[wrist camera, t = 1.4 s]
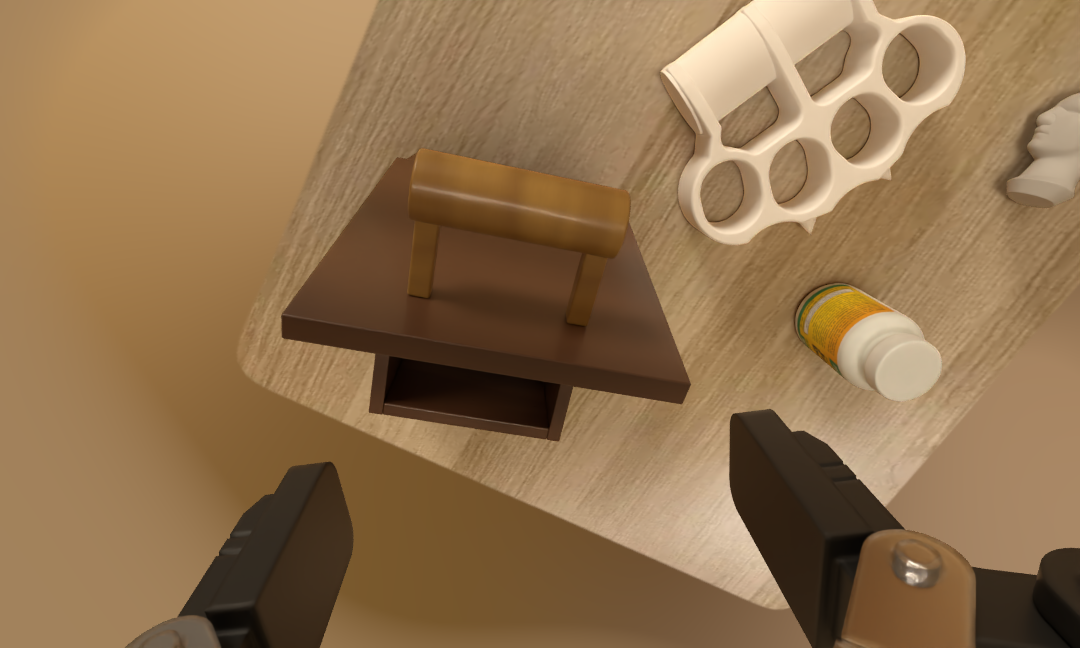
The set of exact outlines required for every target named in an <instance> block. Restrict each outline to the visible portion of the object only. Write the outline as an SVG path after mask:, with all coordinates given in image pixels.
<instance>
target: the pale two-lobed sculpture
mask: <svg viewBox="0 0 1080 648" xmlns="http://www.w3.org/2000/svg"><path fill="white" fill-rule="evenodd" d="M1036 124H1037V126H1038V127H1037V128H1036V129H1035V131H1034V136H1033V138H1032V140H1031V141H1030V142H1029V144H1028V145H1027V149H1028V151H1029V153H1030V154H1031V155H1032V157H1033V158H1034V161H1033V162H1032V164H1031V165H1030V166H1029V167H1028V168H1027V169H1026V170H1025V171H1024V172H1023V173H1022V174H1021V175H1020V176H1018V177H1015V178H1013V179H1010V180H1008V181H1007V196H1008V197H1009V198H1010V199H1011V200H1013V201H1015V202H1017V203H1019V204H1022V205H1026V206H1031V207H1038V208H1051V207H1053V206H1056V205H1058V204H1060V203H1063V202H1065V201H1068V200H1070V199H1072V198H1073V197H1074V192H1075V187H1076V185H1077V183H1078V181H1079V180H1080V93H1077V94H1074V95H1072V96H1069V97H1067V98H1065V99H1064V100H1062V101H1060V102H1059V103H1058V104H1057V105H1056V106H1055V107H1054V108H1052V109H1050V110H1048V111H1046V112H1044V113H1042V114H1041V115H1040V116H1039V117H1038V118H1037V120H1036Z"/></svg>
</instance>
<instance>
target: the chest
mask: <svg viewBox="0 0 1080 648" xmlns="http://www.w3.org/2000/svg"><path fill="white" fill-rule="evenodd" d="M417 153H418V152H417ZM417 153H416V154H414V155H412V156H411V157H409V158H407V159H408V160H413V161H415V158H416V155H417ZM572 389H573V386H568V385H562V384H556V383H550V382H544V381H538V380H532V379H526V378H520V377H514V376H508V375H502V374H496V373H490V372H484V371H478V370H472V369H466V368H460V367H454V366H447V365H441V364H435V363H429V362H423V361H417V360H411V359H405V358H399V357H393V356H387V355H381V354H375V363H374V371H373V380H372V389H371V397H370V406H369V413H376V414H382V413H383V414H384V415H391V416H397V417H404V418H410V419H417V420H423V421H430V422H436V423H443V424H449V425H456V426H462V427H469V428H475V429H482V430H488V431H495V432H501V433H508V434H514V435H521V436H527V437H534V438H540V439H546V438H547V440H553V441H559V440H560V436H561V432H562V428H563V424H564V420H565V416H566V412H567V408H568V404H569V400H570V396H571V393H572Z"/></svg>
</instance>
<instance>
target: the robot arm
mask: <svg viewBox="0 0 1080 648" xmlns="http://www.w3.org/2000/svg"><path fill="white" fill-rule="evenodd" d="M729 480H730V488H731V493H732V498H733V501H734V504H735V507H736V509H737V511H738V513H739V515H740V516H741V518H742V520H743V522H744V524H745V526H746V527H747V529H748V531H749V533H750V535H751V537H752V538H753V540H754V542H755V544H756V546H757V547H758V549H759V551H760V553H761V555H762V557H763V558H764V560H765V562H766V564H767V566H768V568H769V569H770V571H771V573H772V575H773V577H774V578H775V580H776V582H777V584H778V586H779V588H780V589H781V591H782V593H783V595H784V597H785V599H786V600H787V602H788V604H789V606H790V608H791V609H792V611H793V613H794V614H795V617H796V619H797V620H798V622H799V624H800V626H801V628H802V629H803V631H804V633H805V635H806V637H807V638H808V640H809V642H810V644H811V646H812V648H1080V549H1079V548H1063V549H1057V550H1054V551H1051V552H1049V553H1047V554H1046V555H1045V556H1044V557H1043V558H1042V560H1041V563H1040V567H1039V570H1038V574H1037V575H1031V574H1023V573H1014V572H1005V571H997V570H989V569H981V568H976V567H971V565H970V564H969V562H968V561H967V560H966V559H965V558H964V557H963V556H962V555H961V554H960V553H959V552H958V551H956V550H955V549H954V548H952V547H951V546H949V545H948V544H946V543H944V542H942V541H940V540H938V539H936V538H934V537H931V536H929V535H926V534H923V533H919V532H915V531H910V530H905V529H904V528H903V527H902V526H901V524H900V523H899V522H898V521H897V520H896V519H895V518H894V517H893V516H892V515H891V514H890V513H889V511H888V510H887V509H886V508H885V507H884V506H883V505H882V504H881V503H880V501H879V500H878V499H877V498H876V497H875V496H874V495H873V494H872V493H871V492H870V490H869V489H868V488H867V487H866V486H865V485H864V484H863V483H862V482H861V481H860V480H859V479H858V480H857V479H856V475H855V474H854V473H853V472H852V471H851V470H850V469H849V467H848V466H847V465H844V464H843V461H842V460H841V459H840V458H839V456H838V455H837V454H836V453H835V452H834V451H833V450H832V449H831V448H830V447H829V446H828V444H826V443H824V442H823V441H821V440H819V439H817V438H815V437H814V436H812V435H810V434H808V433H807V432H805V431H796V432H791V431H790V429H789V428H788V427H787V426H786V425H785V423H784V422H783V421H782V420H781V419H780V417H779V416H778V415H777V414H776V413H775V412H774V411H773V410H771V409H767V410H759V411H751V412H743V413H735V414H733V415H732V416H731V420H730V467H729ZM352 550H353V527H352V523H351V519H350V515H349V512H348V508H347V505H346V501H345V498H344V494H343V491H342V487H341V484H340V480H339V477H338V473H337V470H336V468H335V466H334V465H333V463H331V462H323V463H315V464H307V465H299V466H292V467H291V468H290V469H289V470H288V472H287V473H286V475H285V476H284V478H283V480H282V482H281V483H280V485H279V487H278V488H277V490H276V491H275V493H274V494H270V495H265V496H264V497H262V498H261V499H260V500H259V501H258V502H257V503H255V504H254V505H253V506H252V507H251V508H250V509H248V510H247V511H246V512H245V513H244V514H243V515H242V517H241V518H240V520H239V522H238V523H237V525H236V526H235V528H234V529H233V531H232V532H231V534H230V539H227V540H226V542H225V543H224V545H223V547H222V548H221V550H220V551H219V556H216V557H215V559H214V561H213V562H212V564H211V565H210V567H209V568H208V570H207V572H206V573H205V575H204V576H203V578H202V579H201V581H200V582H199V584H198V586H197V587H196V589H195V590H194V592H193V593H192V595H191V597H190V598H189V600H188V601H187V603H186V604H185V606H184V608H183V609H182V611H181V612H180V614H179V616H178V617H177V618H173V619H170V620H168V621H165V622H162V623H160V624H158V625H156V626H155V627H152V628H151V629H149V630H147V631H146V632H144V633H143V634H141V635H140V636H138V637H137V638H135V640H133V641H132V642H131V643H130V644H128V645H127V646H126V647H125V648H320V645H321V642H322V639H323V636H324V633H325V631H326V627H327V625H328V622H329V619H330V616H331V613H332V610H333V607H334V604H335V602H336V599H337V596H338V593H339V590H340V587H341V584H342V581H343V578H344V576H345V573H346V570H347V567H348V564H349V561H350V558H351V555H352Z"/></svg>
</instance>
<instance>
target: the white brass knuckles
mask: <svg viewBox="0 0 1080 648" xmlns="http://www.w3.org/2000/svg"><path fill="white" fill-rule="evenodd" d="M841 30H843V31H846V32H847V33H848V34H849V35H850V38H851V44H850V48H849V50H848V52H847V54H846V57H845V61H844V68H843V71H842V73H841V75H840V76H839V77H838V78H837V79H835V80H834V81H832V82H831V83H830V84H828V85H827V86H826V87H824V88H823V89H821V90H820V91H819V92H817V93H816V94H814V95H813V96H812V97H810V95H809V93H808V91H807V89H806V87H805V85H804V83H803V81H802V79H801V77H800V75H799V74H798V72H797V70H796V68H795V66H794V65H795V64H797V63H798V62H799V61H801V60H802V59H803V58H805V57H806V56H807V55H809V54H810V53H811V52H813V51H814V50H815V49H817V48H818V47H820V46H821V45H822V44H824V43H825V42H826V41H828V40H829V39H830V38H832V37H833V36H834V35H836V34H837V33H839V32H840V31H841ZM899 33H900V34H902V35H903V36H904V37H905V38H906V39H907V40H908V41H909V42H910V43H911V44H912V45H913V46H914V47H915V48H916V50H917V52H918V55H919V61H920V66H919V72H918V76H917V78H916V81H915V83H914V84H913V86H912V87H911V89H910V90H909V91H908V92H907V93H906V94H905V95H904V96H902V97H901V98H899V97H898V96H897V95H896V94H894V93H893V92H892V91H891V90H890V89H889V88H888V86H887V85H886V83H885V81H884V79H883V75H882V62H883V57H884V54H885V52H886V49H887V47H888V46H889V44H890V43H891V41H892V40H893V39H894V38H895V37H896V36H897V35H898V34H899ZM965 62H966V59H965V50H964V45H963V42H962V40H961V38H960V36H959V34H958V33H957V31H956V30H955V29H954V28H953V27H952V26H951V25H950V24H949V23H948V22H946V21H944V20H942V19H940V18H938V17H934V16H929V15H916V16H910V17H905V18H900V19H895V20H892V19H890V18H887V17H885V16H883V15H880V14H879V13H878V11H877V9H876V7H875V5H874V2H873V0H753V1H752V2H750V3H749V4H748V5H746V6H744V7H742V8H741V9H740V10H738V11H737V12H736V14H735V15H734V16H732V17H731V18H730V19H728V20H727V21H726V22H724V23H723V24H722V25H721V26H719V27H718V28H717V29H715V30H714V31H713V32H712V33H710V34H709V35H708V36H706V37H705V38H704V39H702V40H701V41H700V42H699V43H697V44H696V45H695V46H693V47H692V48H691V49H689V50H688V51H687V52H686V53H684V54H683V55H682V56H680V57H679V58H678V59H677V60H675V61H674V62H673V63H670V64H668V65H667V66H666V67H665V68H663V69H662V71H661V72H660V76H661V79H662V81H663V83H664V86H665V88H666V90H667V92H668V94H669V95H670V97H671V99H672V101H673V102H674V104H675V106H676V107H677V109H678V110H679V112H680V113H681V115H682V116H683V118H684V119H685V120H686V122H687V123H688V124H689V126H690V127H691V128H692V129H693V131H694V132H695V134H696V139H695V152H694V155H693V157H692V158H691V159H690V160H689V162H688V163H687V165H686V166H685V168H684V170H683V172H682V174H681V177H680V181H679V186H678V200H679V205H680V208H681V210H682V213H683V215H684V216H685V218H686V219H687V221H688V222H689V223H690V224H691V225H692V226H693V227H695V228H696V229H697V230H699V231H700V232H702V233H703V234H704V235H706V236H707V237H709V238H710V239H712V240H714V241H716V242H719V243H722V244H726V245H742V244H747V243H749V241H750V240H751V239H752V238H753V237H754V236H755V235H756V234H758V233H759V232H760V231H762V230H763V229H765V228H767V227H769V226H771V225H773V224H777V223H781V222H798V223H799V224H800V225H801V226H802V227H803V228H804V229H805V230H806V231H807V232H808V233H809V234H810V235H811V233H812V230H813V227H814V224H815V221H816V217H818V216H821V215H824V214H826V213H829V212H831V211H832V210H833V208H834V207H835V205H836V204H837V203H838V201H839V200H840V199H841V198H842V197H843V196H844V195H845V194H846V193H848V192H849V191H850V190H852V189H853V188H855V187H857V186H859V185H861V184H863V183H866V182H869V181H875V180H879V179H880V178H883V179H887V180H891V181H892V179H891V172H890V167H891V166H892V165H893V164H894V163H895V162H896V161H897V160H898V159H899V158H900V157H901V156H902V154H903V152H904V149H905V146H906V143H907V141H908V139H909V138H910V136H911V134H912V133H913V131H914V130H915V129H916V127H917V126H918V125H919V124H920V123H921V122H922V121H923V120H924V119H925V118H926V117H928V116H929V115H930V114H932V113H933V112H935V111H937V110H939V109H941V108H944V107H947V106H949V105H950V103H951V102H952V100H953V99H954V97H955V96H956V94H957V92H958V90H959V88H960V85H961V83H962V80H963V76H964V72H965ZM765 86H767V87H768V89H769V91H770V93H771V94H772V96H773V98H774V100H775V102H776V104H777V105H778V108H779V115H778V118H777V120H776V122H775V123H774V124H773V125H772V126H770V127H769V128H767V129H766V130H765V131H763V132H762V133H760V134H759V135H758V136H756V137H755V138H754V139H752V140H751V141H749V142H748V143H747V144H745V145H744V146H742V147H741V148H738V149H737V148H733V147H729V146H723V144H722V142H721V132H722V127H721V126H720V124H719V122H718V121H719V120H721V119H722V118H723V117H725V116H726V115H727V114H729V113H730V112H731V111H733V110H734V109H736V108H737V107H738V106H740V105H741V104H742V103H744V102H745V101H746V100H748V99H749V98H750V97H752V96H753V95H754V94H756V93H757V92H759V91H760V90H761V89H763V88H764V87H765ZM851 98H854V99H856V100H857V101H858V102H859V103H860V104H861V105H862V106H863V107H864V108H865V109H866V110H867V112H868V114H869V116H870V120H871V131H870V135H869V138H868V140H867V142H866V144H865V146H864V147H863V148H862V150H861V151H860V152H859V153H857V154H856V155H855V156H853V157H852V158H850V159H847V160H846V159H845V158H844V157H843V156H841V155H840V154H839V153H838V152H837V151H836V149H835V148H834V146H833V144H832V141H831V125H832V121H833V119H834V116H835V114H836V113H837V111H838V110H839V108H840V107H841V106H842V105H843V104H844V103H845V102H846V101H848V100H849V99H851ZM794 140H797V141H798V142H799V143H800V144H801V145H802V147H803V149H804V151H805V155H806V161H807V166H808V175H807V180H806V182H805V185H804V187H803V188H802V190H801V191H800V192H799V193H798V194H797V195H796V196H795V197H794V198H793V199H791V200H789V201H787V202H785V203H780V204H777V203H776V201H775V199H774V197H773V194H772V190H771V185H770V180H769V170H770V166H771V163H772V160H773V158H774V157H775V155H776V154H777V152H778V151H779V150H780V149H781V148H782V147H783V146H785V145H786V144H788V143H789V142H791V141H794ZM729 160H732V161H734V162H735V163H736V165H737V166H738V168H739V170H740V172H741V176H742V181H743V185H744V197H743V201H742V203H741V205H740V207H739V209H738V210H737V211H736V212H735V213H734V214H733V215H732V216H731V217H729V218H728V219H726V220H724V221H721V222H708V221H707V219H706V217H705V215H704V211H703V207H702V203H701V199H700V190H701V185H702V182H703V180H704V178H705V176H706V175H707V174H708V172H709V171H710V170H711V169H712V168H713V167H715V166H716V165H718V164H720V163H722V162H725V161H729Z"/></svg>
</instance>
